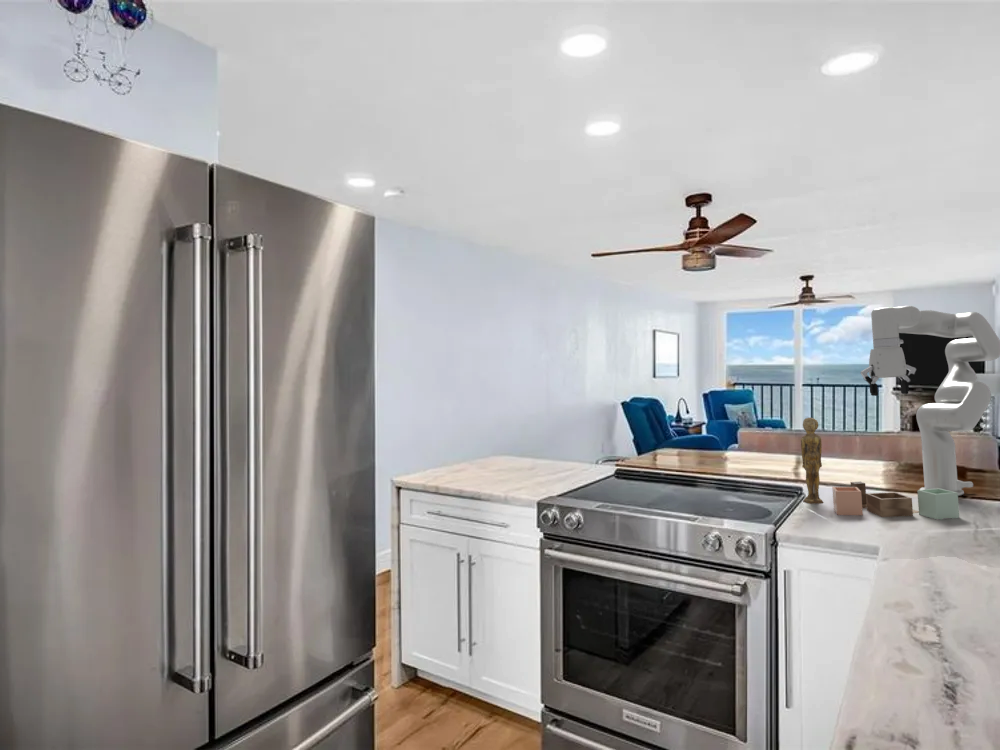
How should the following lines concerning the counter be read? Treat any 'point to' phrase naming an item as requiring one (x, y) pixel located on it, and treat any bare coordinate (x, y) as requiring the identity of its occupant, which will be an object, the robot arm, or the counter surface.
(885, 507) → the box
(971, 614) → the counter surface
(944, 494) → the box
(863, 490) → the lid
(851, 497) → the canister terracotta
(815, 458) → the sculpture
